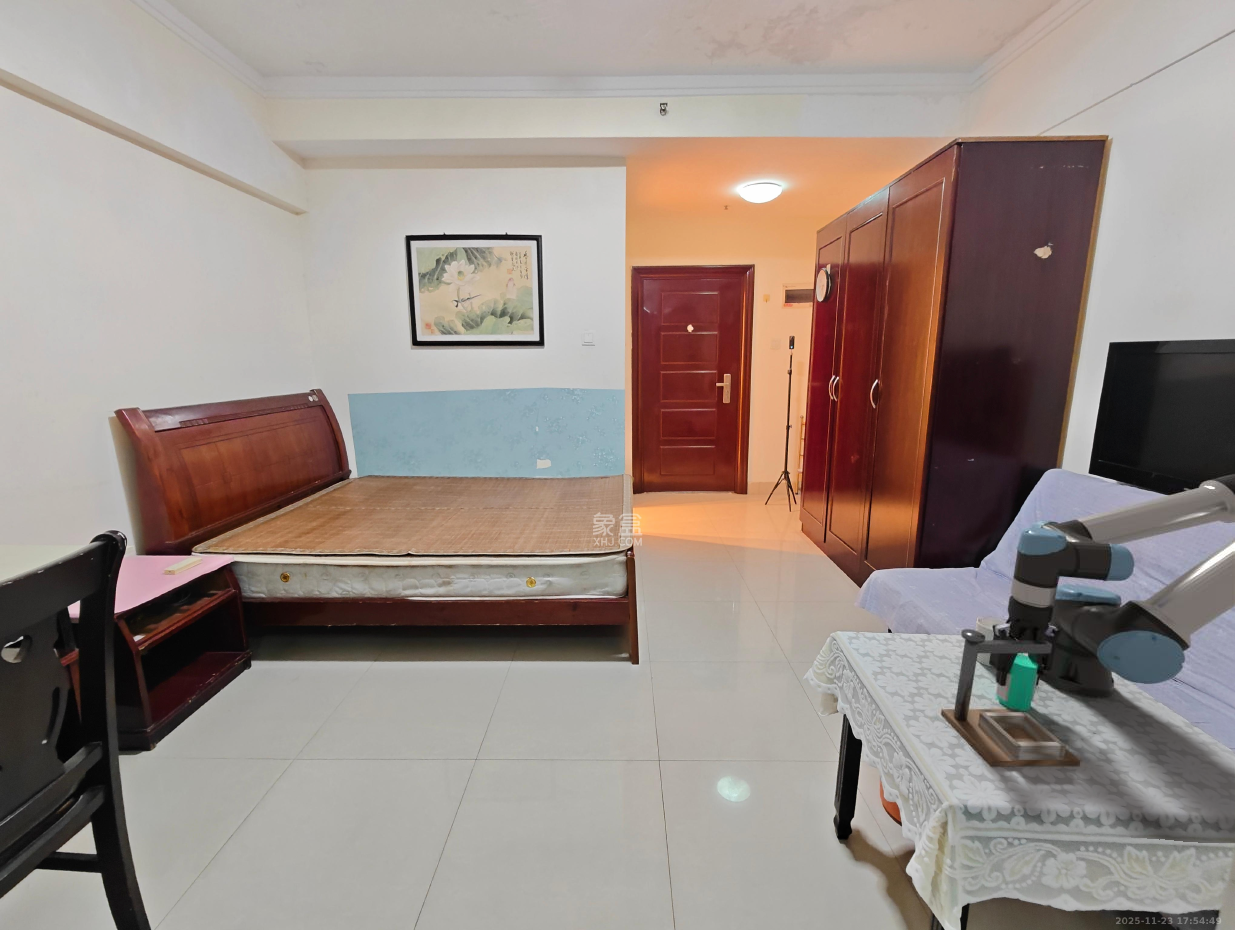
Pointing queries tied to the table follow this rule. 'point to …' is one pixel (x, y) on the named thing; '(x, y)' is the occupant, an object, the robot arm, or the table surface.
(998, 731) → the board
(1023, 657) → the candle
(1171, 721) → the table surface
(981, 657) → the white cup
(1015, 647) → the bar
